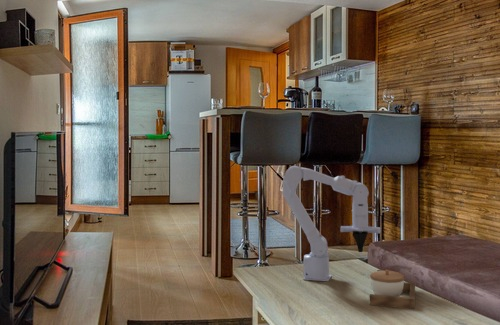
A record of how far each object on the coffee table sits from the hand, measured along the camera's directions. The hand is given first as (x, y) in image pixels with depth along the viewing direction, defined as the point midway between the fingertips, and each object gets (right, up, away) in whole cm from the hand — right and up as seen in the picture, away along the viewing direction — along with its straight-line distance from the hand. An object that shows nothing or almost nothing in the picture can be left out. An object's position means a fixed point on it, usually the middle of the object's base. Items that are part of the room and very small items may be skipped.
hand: (360, 251), depth 187 cm
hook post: (+4, -11, -12) cm, 16 cm away
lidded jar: (+4, -12, -22) cm, 25 cm away
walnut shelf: (+5, -11, -22) cm, 25 cm away
